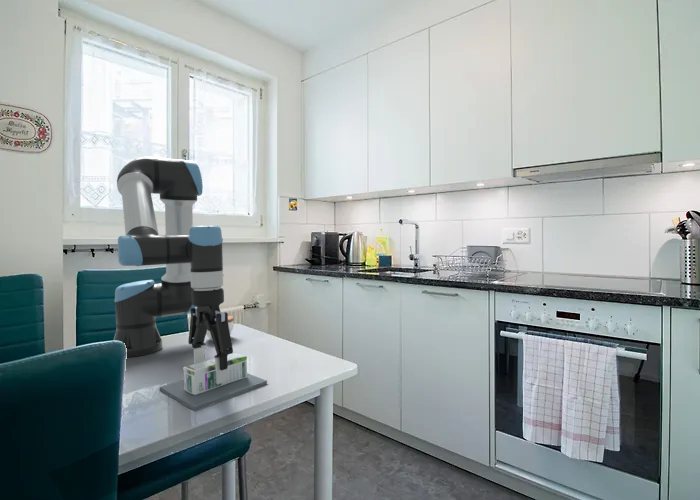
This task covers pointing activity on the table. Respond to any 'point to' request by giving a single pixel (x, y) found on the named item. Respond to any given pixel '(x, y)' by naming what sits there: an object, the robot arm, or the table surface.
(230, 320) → the lidded jar
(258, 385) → the mat
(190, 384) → the syrup box
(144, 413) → the table surface
